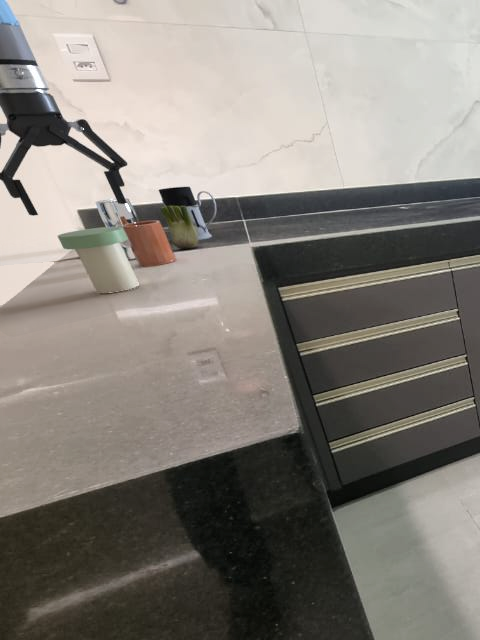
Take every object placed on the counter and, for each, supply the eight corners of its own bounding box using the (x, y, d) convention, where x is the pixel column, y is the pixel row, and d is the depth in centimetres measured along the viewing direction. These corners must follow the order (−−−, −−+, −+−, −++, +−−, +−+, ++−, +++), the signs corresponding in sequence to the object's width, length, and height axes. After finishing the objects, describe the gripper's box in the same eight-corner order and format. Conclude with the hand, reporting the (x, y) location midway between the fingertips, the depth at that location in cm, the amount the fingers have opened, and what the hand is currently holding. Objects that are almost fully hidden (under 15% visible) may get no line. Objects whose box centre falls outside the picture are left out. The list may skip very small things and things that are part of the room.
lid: (72, 251, 104) (65, 238, 103) (57, 246, 109) (50, 234, 108) (135, 240, 112) (129, 228, 111) (118, 236, 117) (113, 225, 116)
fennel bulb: (205, 246, 152) (188, 203, 147) (189, 250, 148) (171, 207, 143) (188, 246, 153) (170, 204, 148) (172, 250, 149) (153, 207, 144)
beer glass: (137, 254, 147) (111, 198, 140) (161, 253, 146) (136, 197, 140) (114, 260, 140) (86, 202, 134) (138, 260, 140) (112, 201, 134)
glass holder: (189, 236, 168) (168, 187, 161) (236, 233, 169) (218, 184, 162) (170, 242, 160) (148, 191, 153) (219, 239, 161) (199, 188, 155)
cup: (145, 267, 132) (127, 227, 127) (134, 264, 135) (116, 225, 131) (181, 260, 137) (164, 221, 133) (169, 257, 141) (153, 219, 137)
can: (103, 296, 111) (79, 248, 106) (92, 291, 114) (69, 245, 110) (144, 286, 116) (123, 241, 112) (133, 282, 119) (112, 238, 115)
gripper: (-78, 91, 87) (-5, 221, 96) (115, 91, 106) (161, 199, 115) (-85, 94, 91) (-14, 219, 100) (102, 93, 110) (148, 198, 119)
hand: (80, 209), depth 108 cm, fingers open, 13 cm apart
